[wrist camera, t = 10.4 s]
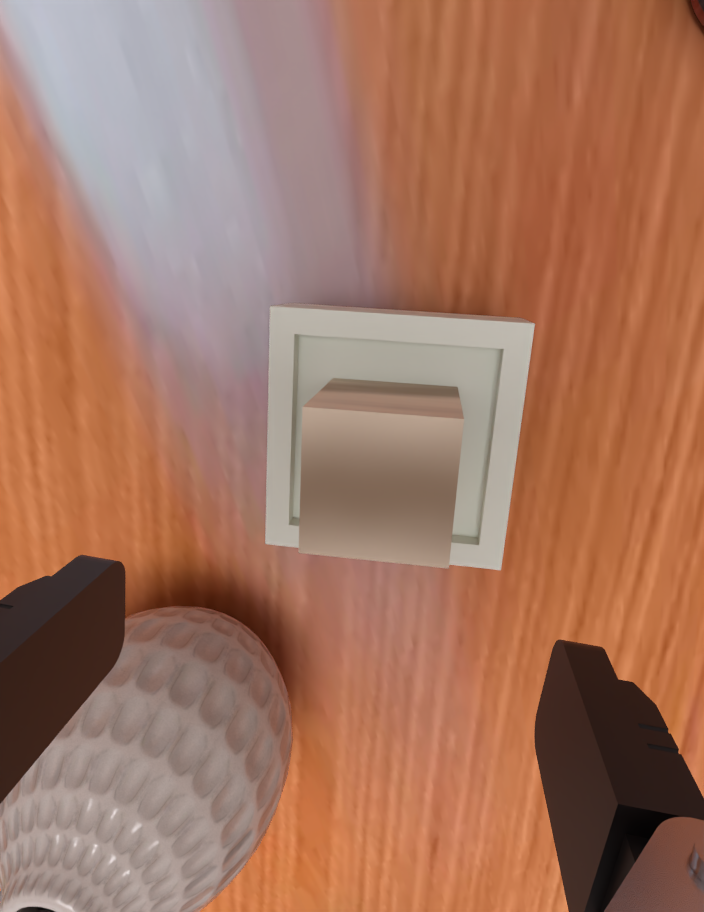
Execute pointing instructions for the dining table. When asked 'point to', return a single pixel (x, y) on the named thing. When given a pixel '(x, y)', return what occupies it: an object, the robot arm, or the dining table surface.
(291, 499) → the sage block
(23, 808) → the vase
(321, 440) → the maple cube
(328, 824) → the dining table surface
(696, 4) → the supplement bottle
